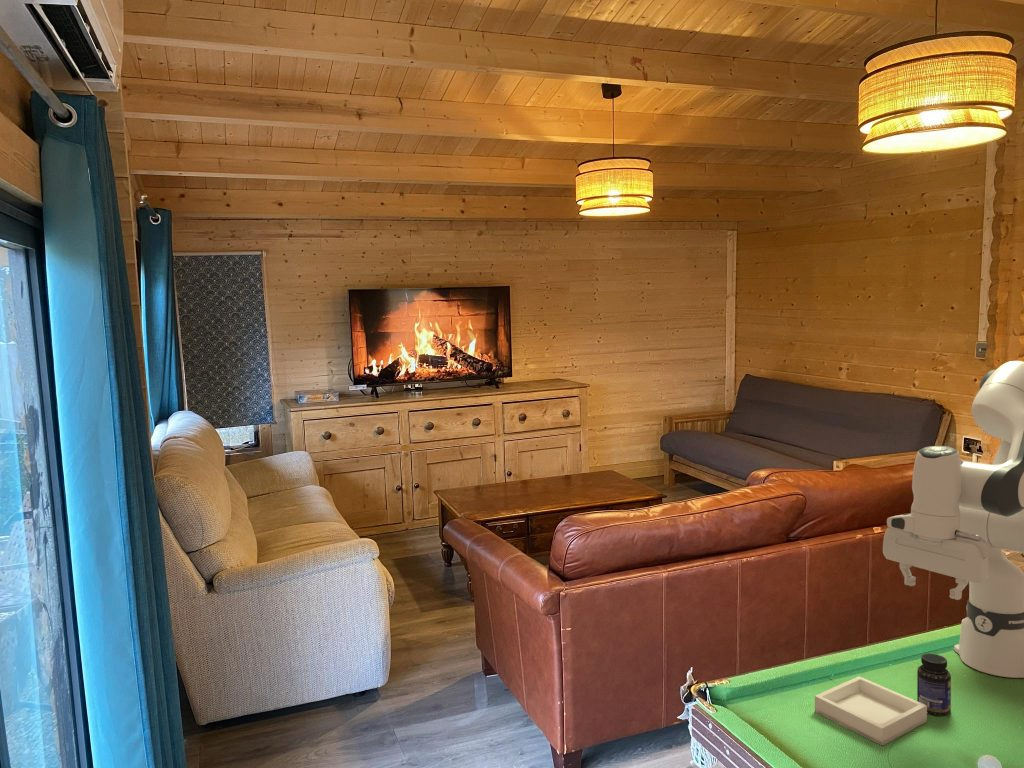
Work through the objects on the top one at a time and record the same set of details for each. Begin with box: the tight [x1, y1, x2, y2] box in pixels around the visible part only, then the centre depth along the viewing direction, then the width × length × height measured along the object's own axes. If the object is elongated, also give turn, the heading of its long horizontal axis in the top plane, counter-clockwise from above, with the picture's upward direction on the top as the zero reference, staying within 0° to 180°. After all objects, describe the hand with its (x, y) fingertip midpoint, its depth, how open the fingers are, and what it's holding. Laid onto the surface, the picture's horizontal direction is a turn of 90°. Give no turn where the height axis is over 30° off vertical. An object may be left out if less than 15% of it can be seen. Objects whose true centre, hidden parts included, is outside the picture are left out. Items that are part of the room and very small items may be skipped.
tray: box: [814, 675, 928, 746], centre depth 151 cm, size 15×15×4 cm
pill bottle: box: [916, 653, 952, 717], centre depth 153 cm, size 6×6×11 cm
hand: (932, 591), depth 152 cm, fingers open, 8 cm apart
